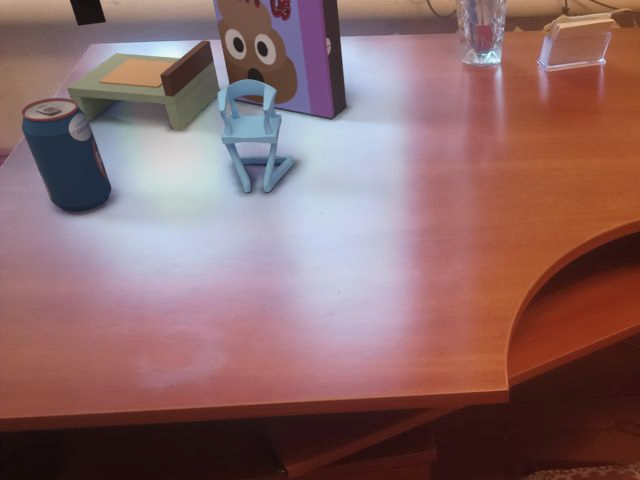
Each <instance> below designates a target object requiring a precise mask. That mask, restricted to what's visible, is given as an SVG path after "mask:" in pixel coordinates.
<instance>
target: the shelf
mask: <svg viewBox="0 0 640 480" xmlns="http://www.w3.org/2000/svg"><path fill="white" fill-rule="evenodd" d="M216 70H217V69H216V66H215V61H214V55H213V51H212V46H211V41H210V40H203V39H202V40H200V41H199V43H197V44H196V45H195V46H193V47H192V48H191V49H189V50H188V51H187V52H186V53H185V54H184V55H182V56H181V57H171V56H160V55H159V56H158V55H157V56H156V55H145V54H134V53H132V54H131V53H119V52H116V53H115V54H113V55H111V56H110V57H109V58H107V59H105V60H104V61H103V62H101V63H99V64H98V65H96V67H95V68H93V69H91V70H90V71H88V72H87V73H85V74H84V75H83V76H81V77H80V78H78V79H76V81H74V82H73V83H71V84H70V85H68V86H67V87H66V90H67V92H68V94H69V99H71V100H74V101H75V102H76V103H77V105H78V107H79V108H80V109H81V110H82V111H83V112H84V113H85V114H86V116H87V117H88V120H89V122H91V121H92V120H93V119H94V118H95V117H96V116H98V115H99V114H100V113H102V112H103V111H104V110H106V109H107V108H108V107H109V106H110V105H112V104H113V103H114V102H116V101H128V102H139V103H150V104H163V105H165V110H166V113H167V117H168V121H169V125H170V129H171V130H172V131H183V130H184V129H185V128H186V127H187V126H188V125H189V124H190V123H191V122H192V121H193V120H194V119H195V118H196V117H198V115H200V113H201V112H202V111H203V110H204V109H206V107H207V106H208V105H210V103H212V102H213V100H215V98H217V97H218V92H219V91H221V88H220V85H219V79H218V74H217V71H216Z"/></svg>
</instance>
